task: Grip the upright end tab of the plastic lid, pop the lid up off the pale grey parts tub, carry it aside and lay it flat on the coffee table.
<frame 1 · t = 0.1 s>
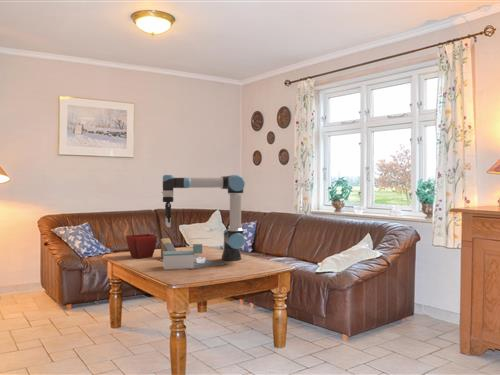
hand: (168, 226, 318), 28 cm above the table, tool pointing down, fingers open, 13 cm apart
tub: (178, 268, 308), on the table
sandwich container: (171, 258, 347), on the table
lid: (178, 253, 308), point 10 cm above the table, touching tub
plant pot: (141, 257, 354), on the table
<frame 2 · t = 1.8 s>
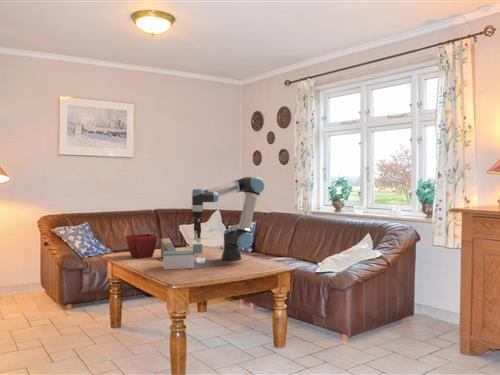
hand: (197, 241, 311), 18 cm above the table, tool pointing down, fingers open, 13 cm apart
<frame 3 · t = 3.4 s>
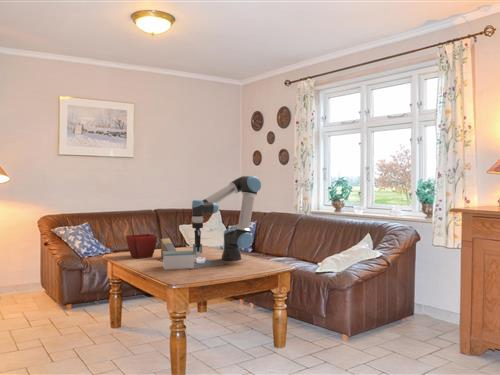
hand: (197, 255, 311), 8 cm above the table, tool pointing down, fingers closed on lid, 4 cm apart
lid: (178, 253, 308), point 10 cm above the table, touching gripper, tub
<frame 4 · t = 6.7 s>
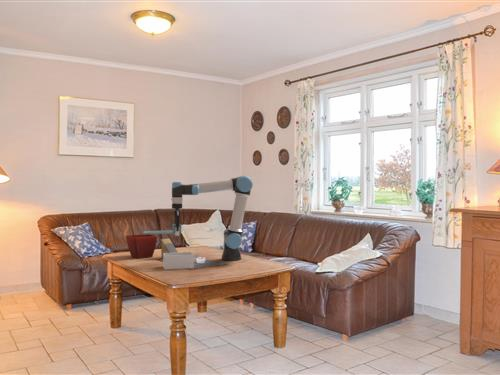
hand: (177, 235, 325), 21 cm above the table, tool pointing down, fingers closed on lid, 4 cm apart
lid: (158, 233, 321), point 23 cm above the table, touching gripper
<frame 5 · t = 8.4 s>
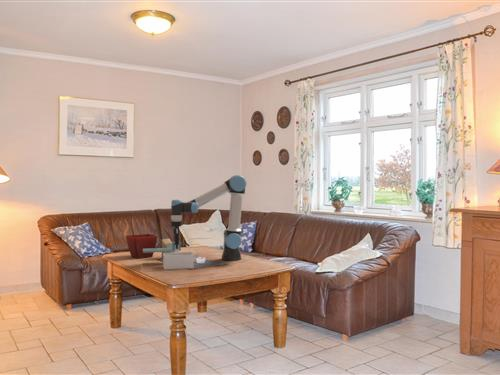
hand: (176, 252, 325), 8 cm above the table, tool pointing down, fingers closed on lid, 4 cm apart
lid: (157, 250, 322), point 10 cm above the table, touching gripper
when the fingers open (1 cm above the table, at t = 9.9 s): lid drops 3 cm, on the table.
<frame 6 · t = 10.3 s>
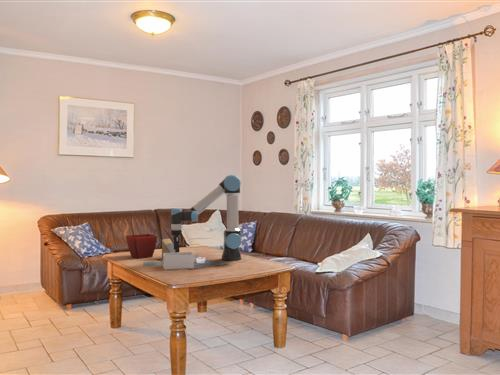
hand: (176, 260, 326), 2 cm above the table, tool pointing down, fingers open, 10 cm apart
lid: (158, 264, 322), on the table
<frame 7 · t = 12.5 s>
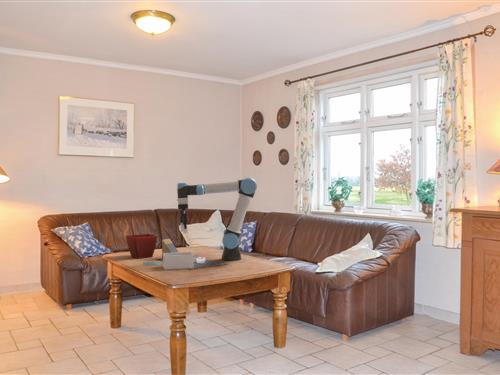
hand: (184, 232, 330), 22 cm above the table, tool pointing down, fingers open, 13 cm apart
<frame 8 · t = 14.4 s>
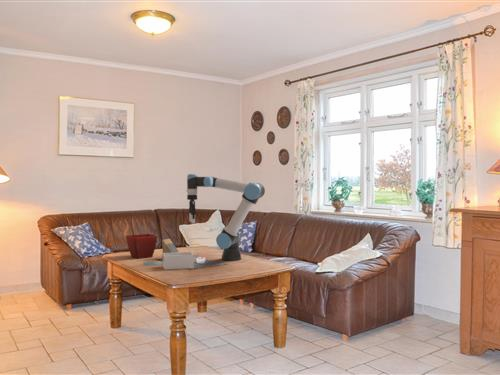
hand: (192, 222, 338), 29 cm above the table, tool pointing down, fingers open, 13 cm apart
at the end: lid inside the target area (0.1 cm from its centre), on the table; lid tilted 0°; the gripper is holding nothing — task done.
